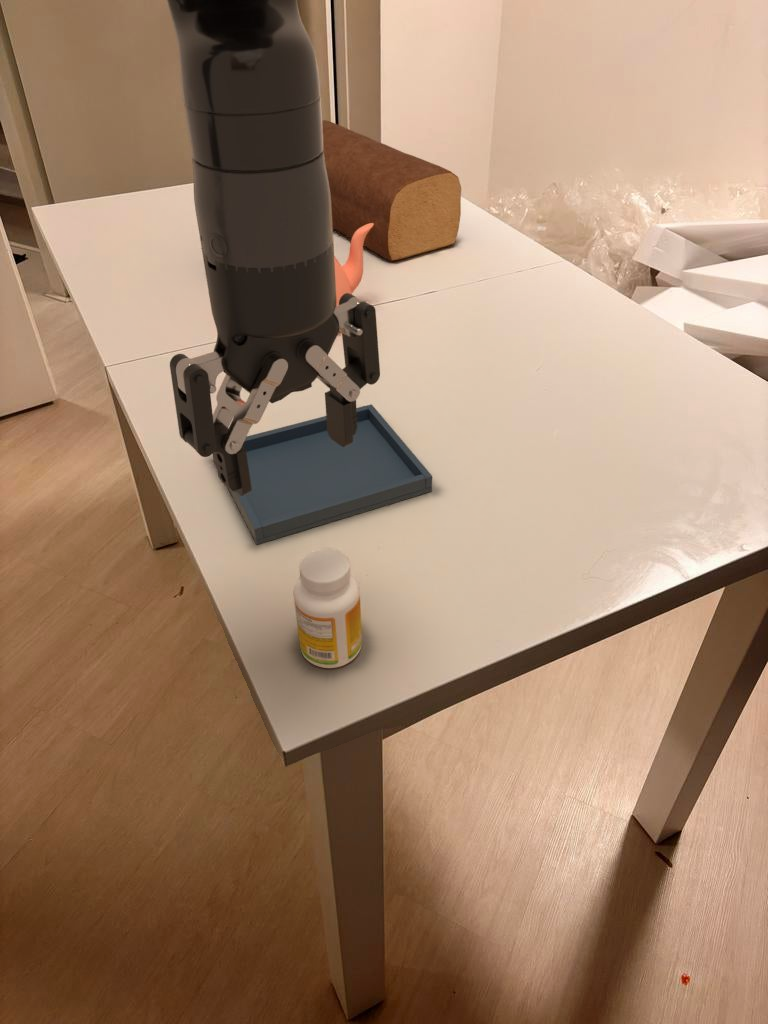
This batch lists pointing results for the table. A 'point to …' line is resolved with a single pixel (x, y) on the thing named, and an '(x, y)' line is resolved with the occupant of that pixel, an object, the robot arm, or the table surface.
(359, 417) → the tray
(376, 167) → the bread
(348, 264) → the teapot
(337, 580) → the supplement bottle
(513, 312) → the table surface
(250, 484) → the robot arm
